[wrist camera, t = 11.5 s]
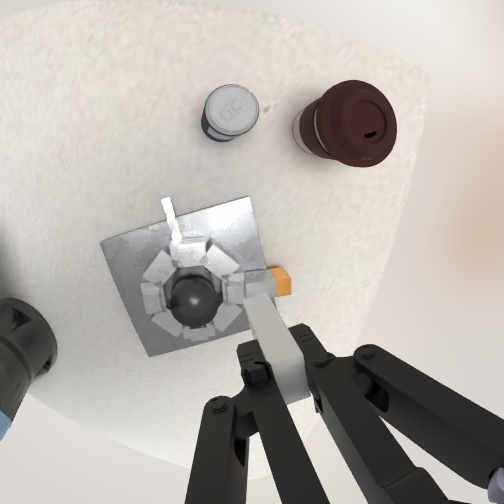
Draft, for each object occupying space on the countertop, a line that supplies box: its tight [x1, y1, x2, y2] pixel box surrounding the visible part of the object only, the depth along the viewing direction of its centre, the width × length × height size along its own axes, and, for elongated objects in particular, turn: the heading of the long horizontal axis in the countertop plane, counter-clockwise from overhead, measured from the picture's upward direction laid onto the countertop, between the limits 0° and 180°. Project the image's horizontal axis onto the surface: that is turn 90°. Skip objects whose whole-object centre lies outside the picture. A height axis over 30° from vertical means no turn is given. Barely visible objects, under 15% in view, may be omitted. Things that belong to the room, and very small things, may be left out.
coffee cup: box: [293, 80, 397, 167], centre depth 35 cm, size 10×10×15 cm
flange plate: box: [100, 196, 276, 357], centre depth 41 cm, size 24×23×8 cm
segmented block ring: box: [140, 237, 291, 341], centre depth 42 cm, size 14×20×5 cm
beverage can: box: [201, 84, 259, 142], centre depth 34 cm, size 6×6×12 cm
